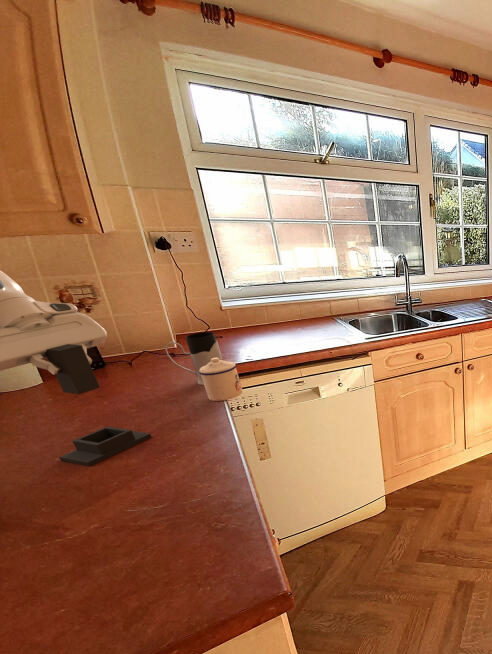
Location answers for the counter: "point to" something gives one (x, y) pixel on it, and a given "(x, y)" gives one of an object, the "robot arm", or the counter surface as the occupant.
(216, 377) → the teacup with lid
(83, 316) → the robot arm
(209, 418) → the counter surface
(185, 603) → the counter surface
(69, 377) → the dark grey rectangular block
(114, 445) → the base pad
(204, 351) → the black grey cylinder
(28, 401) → the counter surface
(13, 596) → the counter surface
